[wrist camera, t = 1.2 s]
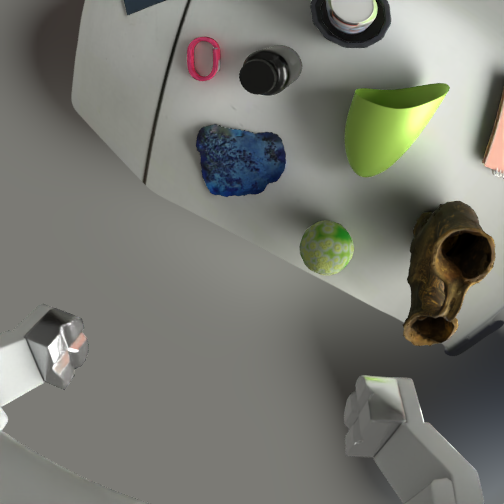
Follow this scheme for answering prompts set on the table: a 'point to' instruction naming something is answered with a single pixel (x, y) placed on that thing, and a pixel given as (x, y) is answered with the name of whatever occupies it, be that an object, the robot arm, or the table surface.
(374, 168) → the green hollow scoop
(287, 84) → the supplement bottle
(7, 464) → the robot arm
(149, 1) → the rubber pad
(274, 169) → the rock
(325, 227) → the decorative ball
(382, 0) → the stand
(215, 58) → the fitness band
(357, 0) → the beverage can
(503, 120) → the notebook
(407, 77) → the table surface
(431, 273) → the pottery vessel
